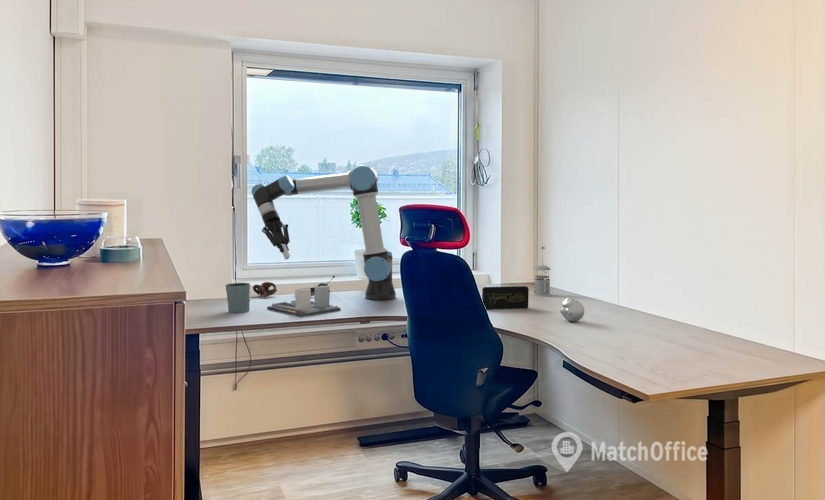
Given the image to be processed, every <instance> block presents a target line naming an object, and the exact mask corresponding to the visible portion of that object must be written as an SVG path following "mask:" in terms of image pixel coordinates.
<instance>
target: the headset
mask: <svg viewBox="0 0 825 500" xmlns="http://www.w3.org/2000/svg"><path fill="white" fill-rule="evenodd" d="M334 278H336V277H335V275H333V276H332V278H331V280H333V279H334ZM328 284H329V282H327V283H319V284H318V285H317V286H329V285H328ZM308 288H309V289H311V297H315V287H308ZM330 292H331V290H330V289H329V294H330Z"/></svg>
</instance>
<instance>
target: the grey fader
mask: <svg viewBox="0 0 825 500" xmlns="http://www.w3.org/2000/svg"><path fill="white" fill-rule="evenodd" d="M314 288H315V295H314V302H315V306H317V307H322V308H325V307H329V305H330V293H329V290H330V286H329V285H328V286H318V285H316V286H314Z"/></svg>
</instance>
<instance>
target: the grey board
mask: <svg viewBox="0 0 825 500" xmlns="http://www.w3.org/2000/svg"><path fill="white" fill-rule="evenodd" d="M266 309H267V310H268V311H273V312H278V313H281V314H286V315H290V316H294V317H297V318H303V317H309V316H315V315H323V314H327V313H334V312H339V311H341V307H338V305H333V304H329V307H325V308H322V307H317V306H315V301H313V300H311V310H306V311H303V310H298V309H296V300H295V299H294V300H290V302H287V301H281V302H275V303H272V304H271V305H270V306H267V307H266Z"/></svg>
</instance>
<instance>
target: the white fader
mask: <svg viewBox="0 0 825 500" xmlns="http://www.w3.org/2000/svg"><path fill="white" fill-rule="evenodd" d="M309 288H310V287H303V288H302V287H301V288H295V297H294V298H295V299H294V300H296V309H298V310H303V311H306V310H311V301H312V299H311V297H312V296H311V289H309Z"/></svg>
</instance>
